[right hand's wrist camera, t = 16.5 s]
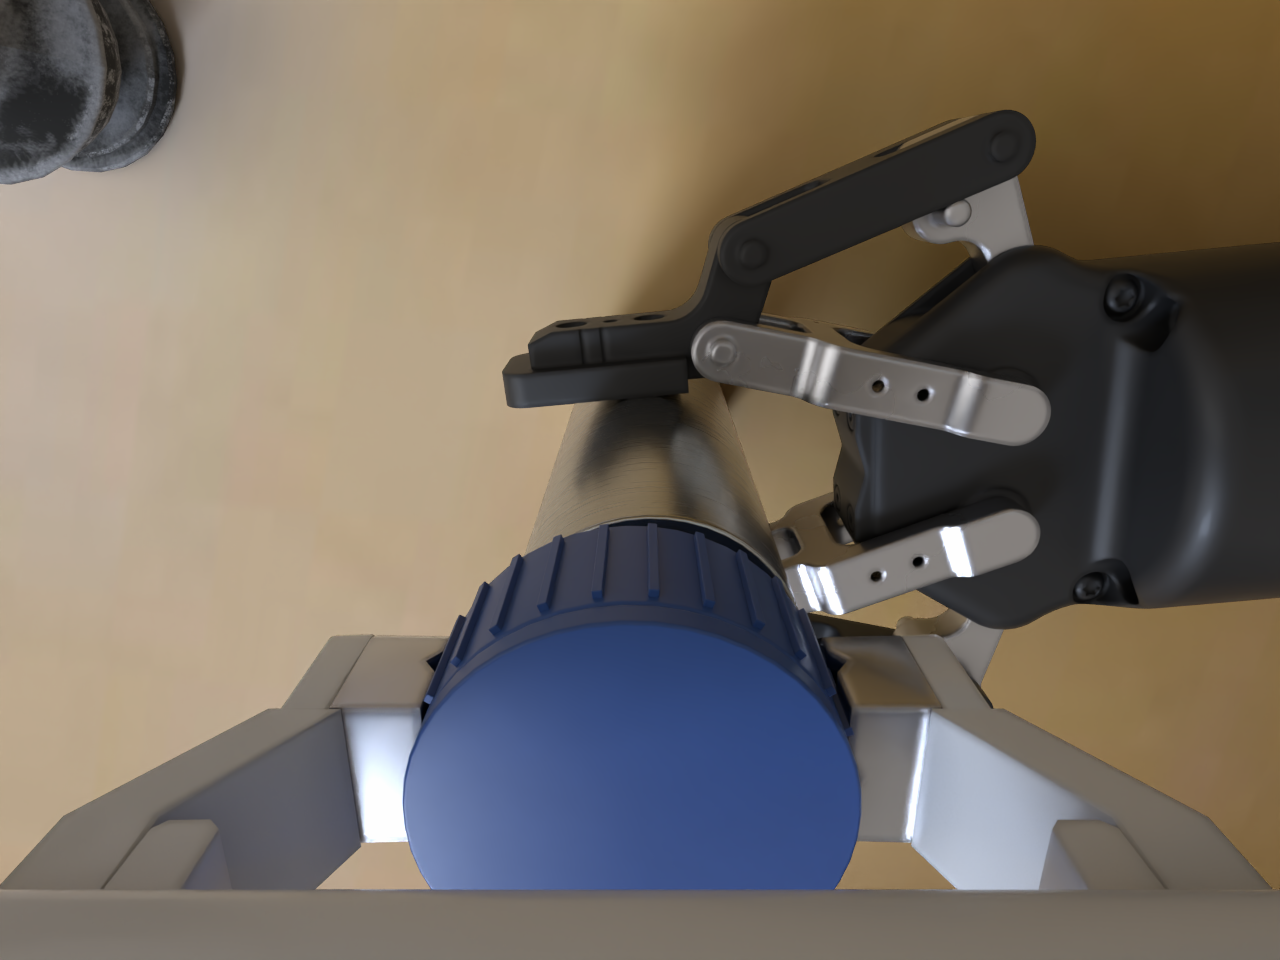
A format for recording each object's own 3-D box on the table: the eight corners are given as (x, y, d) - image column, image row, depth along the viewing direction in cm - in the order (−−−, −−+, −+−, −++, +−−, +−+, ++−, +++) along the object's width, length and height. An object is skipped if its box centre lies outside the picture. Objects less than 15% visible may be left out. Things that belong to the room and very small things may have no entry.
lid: (445, 500, 9) (387, 594, 7) (856, 535, 10) (916, 637, 8) (442, 824, 11) (396, 975, 9) (792, 851, 11) (825, 1003, 9)
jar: (729, 454, 24) (852, 868, 10) (594, 477, 25) (516, 910, 10) (709, 318, 23) (817, 561, 8) (566, 343, 23) (428, 621, 9)
